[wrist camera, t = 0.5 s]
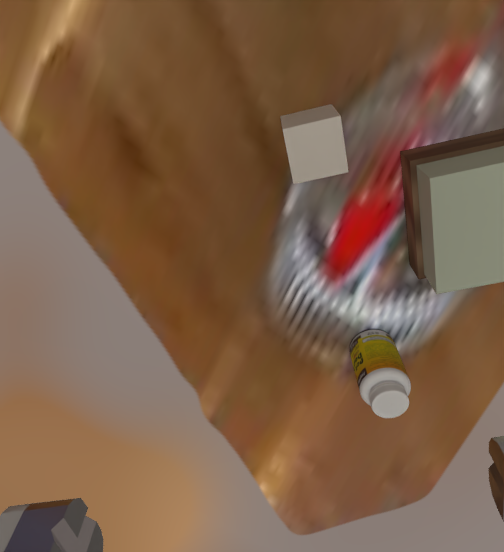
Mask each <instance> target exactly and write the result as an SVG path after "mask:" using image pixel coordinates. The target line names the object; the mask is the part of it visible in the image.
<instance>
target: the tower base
mask: <svg viewBox="0 0 504 552" xmlns="http://www.w3.org/2000/svg"><path fill="white" fill-rule="evenodd" d="M501 146H504V129H499V130H495V131H490V132H486V133H481V134H477V135H472V136H468V137H463V138H459V139H454V140H450V141H445V142H441V143H436V144H432V145H427V146H423V147H418V148H414V149H409V150H405V151H400V154H401V166H402V178H403V190H404V202H405V214H406V226H407V238H408V250H409V262H410V265H411V267H412V269H413V271H414V272H415V274H416V276H417V277H418V279H423V278H426V276H425V275H424V263H423V249H422V235H421V221H420V207H419V194H418V180H417V166H416V165H420V164H425V163H429V162H434V161H438V160H443V159H447V158H452V157H456V156H461V155H465V154H470V153H474V152H479V151H483V150H488V149H492V148H497V147H501Z"/></svg>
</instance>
